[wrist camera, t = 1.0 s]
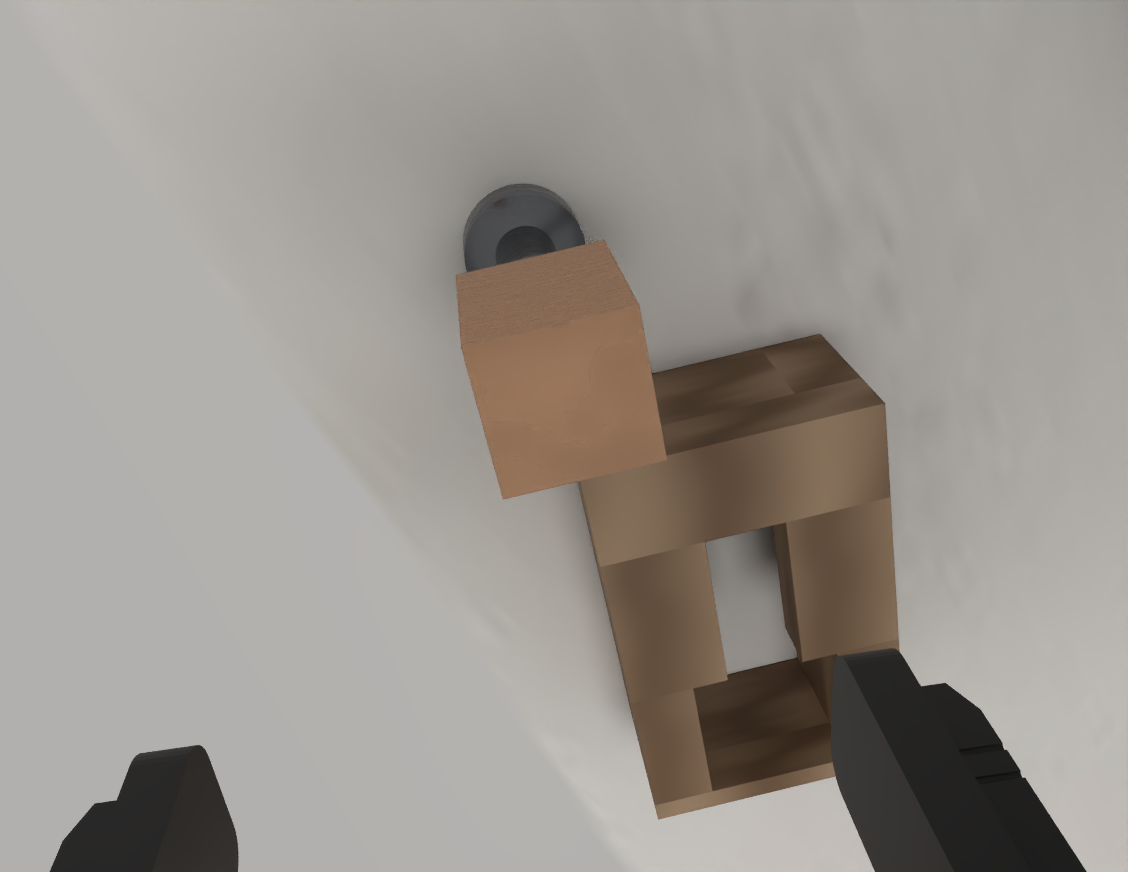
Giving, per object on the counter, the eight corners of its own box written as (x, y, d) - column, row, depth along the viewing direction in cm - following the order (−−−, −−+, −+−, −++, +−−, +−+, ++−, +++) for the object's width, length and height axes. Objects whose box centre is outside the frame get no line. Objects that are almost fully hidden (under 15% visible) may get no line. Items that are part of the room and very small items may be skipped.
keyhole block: (820, 333, 37) (885, 403, 32) (849, 659, 45) (905, 759, 40) (558, 396, 37) (579, 476, 32) (631, 712, 45) (658, 819, 39)
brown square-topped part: (567, 171, 33) (639, 304, 22) (590, 283, 35) (667, 460, 24) (450, 199, 33) (461, 347, 22) (479, 309, 35) (503, 499, 24)
